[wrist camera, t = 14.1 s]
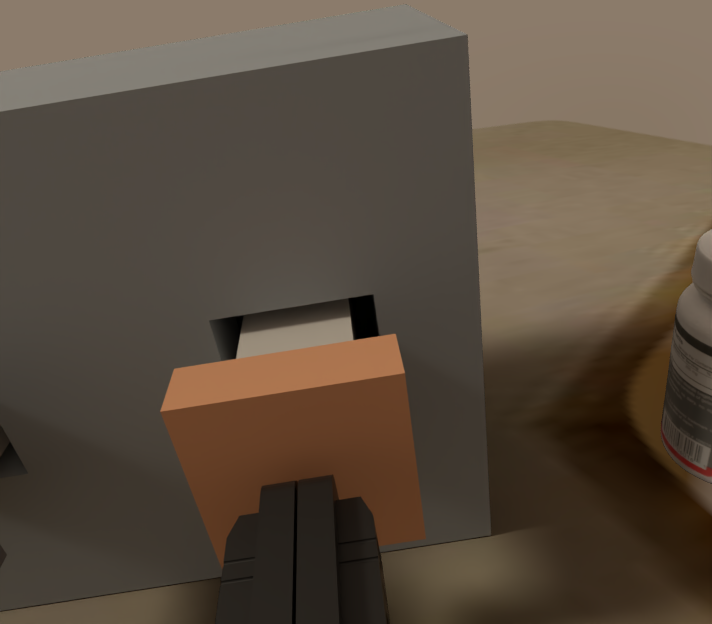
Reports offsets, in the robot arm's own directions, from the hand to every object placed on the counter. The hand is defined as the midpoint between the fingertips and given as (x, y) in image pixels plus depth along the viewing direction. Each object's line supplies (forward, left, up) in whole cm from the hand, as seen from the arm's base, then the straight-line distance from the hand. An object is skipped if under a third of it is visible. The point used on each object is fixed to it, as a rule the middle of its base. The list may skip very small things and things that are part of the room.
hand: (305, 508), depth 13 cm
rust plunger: (-3, +5, -3) cm, 6 cm away
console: (-10, +5, -8) cm, 14 cm away
